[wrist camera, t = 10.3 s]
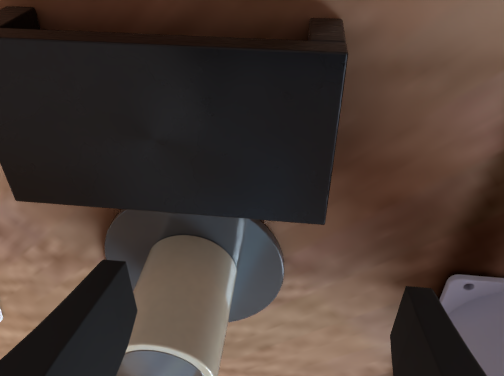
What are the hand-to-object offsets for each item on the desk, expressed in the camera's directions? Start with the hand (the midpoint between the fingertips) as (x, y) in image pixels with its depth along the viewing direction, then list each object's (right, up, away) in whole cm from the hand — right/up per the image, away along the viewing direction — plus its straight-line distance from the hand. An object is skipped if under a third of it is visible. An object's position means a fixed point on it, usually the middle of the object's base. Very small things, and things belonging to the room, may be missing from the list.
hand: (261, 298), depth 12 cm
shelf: (-3, +7, +7) cm, 10 cm away
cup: (-4, -1, +13) cm, 13 cm away
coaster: (-3, -1, +13) cm, 14 cm away
